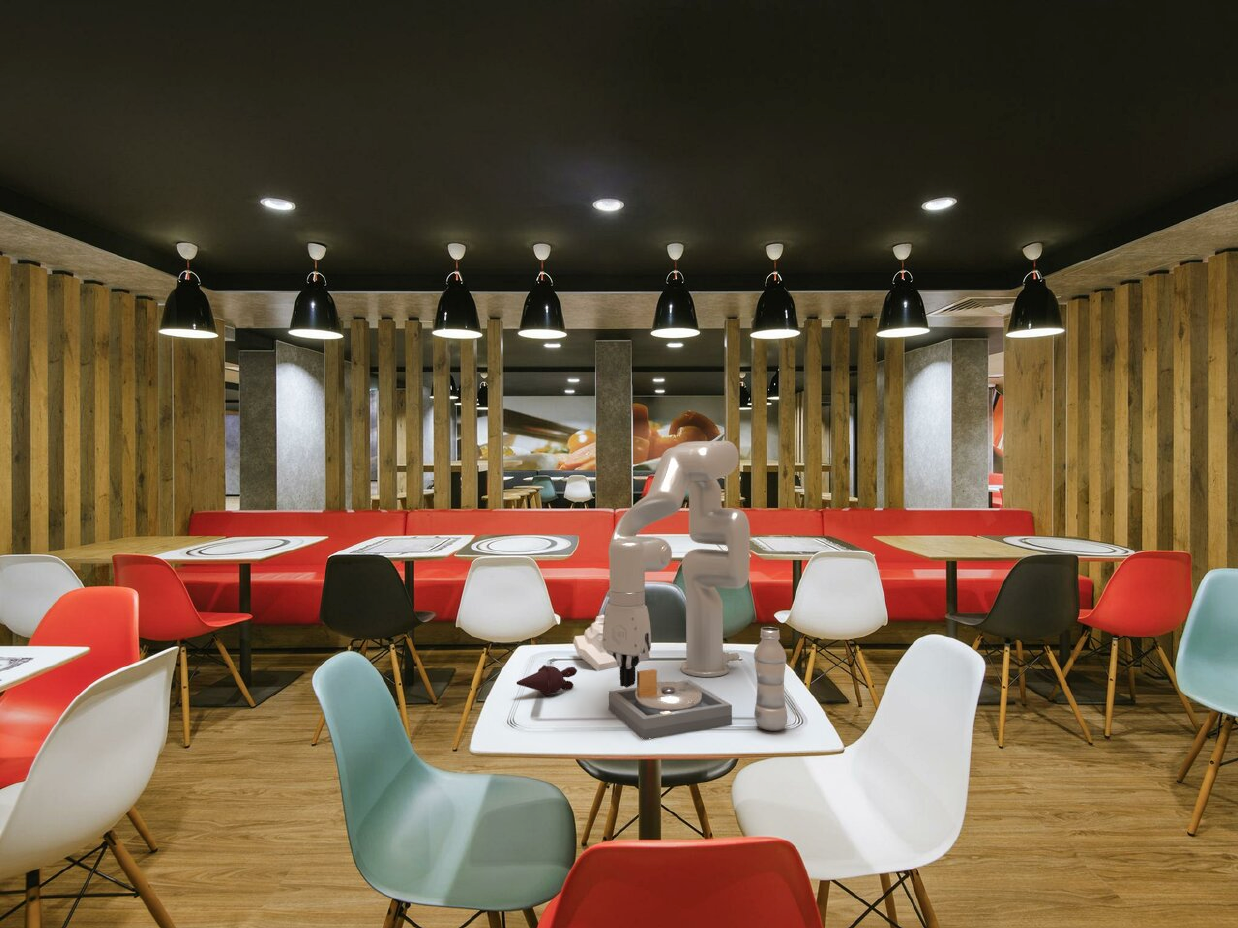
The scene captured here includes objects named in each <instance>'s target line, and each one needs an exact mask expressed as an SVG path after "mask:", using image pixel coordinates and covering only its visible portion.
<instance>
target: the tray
mask: <svg viewBox="0 0 1238 928" xmlns="http://www.w3.org/2000/svg"><path fill="white" fill-rule="evenodd" d="M678 682H680V683H686V684H690V685H693V686H695V687H697V688H699V689H700V690H701V692H702V707H698V708H692V709H686V710H680V711H673V712H670V711H664V712H660V714H655V715H646V714H644V713H643V712H642V711H640V710H639V709H638V708H636V707H635V691H636V689H637V687H631V688H630V687H629V688H625V689H618V690H610V691H608V711H610V713H612V714H613V715H614V717H616V718H618V719H619V720H620V721H621V722H622V723H623V724H624V725H626V726H627V727H628V728H629V729H630V730H632V731H633V733H635V734H636V735H637V736H639V737H640V738H641V737H642V738H643V739H646V740H650V739H649V738H652V739H656V738H657V737H658V738H662V737H668V736H673V735H675V736H676V735H680V734H685V733H691V732H697V731H702V730H708V729H713V728H719V727H725V726H731V725H733V705H732V704H731V703H730V702H727V701H726V700H724V699H722V698H721V697H719V696H717V694H716V695H715V694H714V693H712V692H710V691H709V690H707V689H705V688H704V687H702V686H700V685H698V684H697V683H695V682H694V681H692V680H689V679H687V680H681V681H678ZM642 738H641V739H642ZM658 738H657V739H658ZM643 739H642V740H643Z"/></svg>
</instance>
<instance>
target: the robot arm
mask: <svg viewBox="0 0 1238 928" xmlns="http://www.w3.org/2000/svg"><path fill="white" fill-rule="evenodd" d="M739 456H740V455H739V450H738V448H737V446H736V445H735V444H734V443H733V442H732V441H729V440H708V441H707V440H706V441H705V440H704V441H698V440H697V441H696V440H695V441H686V442H681V443H678V444H677V445H676V446H673V447H670V448H668V449H666V450H665V451H664V452H663V454H662V455H661V457H660V461H659V462H658V465H657V468H656V470H655V474H654V476H653V479H652V482H651V484H650V486H649V489H648V491H647V493H646V495H645V496H644V497H642V498H640V499H639V500H638V501H637V502H635V504H633V506H631V507H630V508H628V509H627V510H626V511H625V513H624V514H623V515H621V517H620V518H619V520H618V522H617V524H616V526H615V528H614V531H613V533H612V536H611V539H610V542H609V546H608V558H609V590H607V591H606V593H605V594H606V597H607V598H609V603H607V604H606V607H605V611H604V614H603V615H604V622H603V637H602V644H603V648H604V649H605V650H606V653H607V654H609V655H611V656H613V657H614V658H615V660H616V661H617V665H618V668H619V686H620V687H624V688H630V687H632V686H634V685H636V684H635V683H636V667H637V666H638V665H639V663H642V662H647V661H649V660H650V659H651V657H650V651H651V648H652V633H651V632H652V631H651V621H650V614H649V608H648V606H647V605H646V580H645V577H646V576H645V575H646V574H645V573H646V572H648V573H649V572H651V573H652V572H653V573H654V572H655V573H656V572H661V571H663V570H664V569H666V568H667V567H668V566H669V565H670V563H671V561H672V556H673V552H672V547H671V545H670V543H668V542H667V540H665V539H663V538H660V537H654V536H638V533H639V532H640V531H642V530H643V529H644V528H645V527H647V526H649V525H651V524H653V523H655V522H658V521H660V520H663V519H666V518H668V517H671V516H672V515H674V514H676V513H678V512H679V511H680V510H681V508H682V506H683V502H684V499H685V496H686V494H687V491H688V504H689V505H688V532H689V533H688V535H689V538H690V539H691V541H692V542H694V543H697V544H704V545H717V546H726V547H727V550H721V549H720V550H719V549H709V548H708V549H707V548H697V549H692V550H690V551H688V552H686V553H685V554H684V556H683V558H682V562H681V571H682V577H683V582H684V588H685V610H686V611H685V612H686V613H685V621H686V622H685V623H686V626H685V629H686V630H685V632H686V634H685V637H686V643H685V644H686V646H685V647H686V653H685V654H686V659H685V661H683V662H682V663H681V664H680V671H681V672H682V673H684V674H686V675H689V676H694V677H699V678H700V677H701V678H711V677H712V678H713V677H714V678H715V677H720V676H724V675H726V674H728V673H729V672H730V667H729V666H730V665H728V663H729V662H735V661H736V662H737V661H739V660H740V655H739V653H738V652H734V653H730V652H725V651H724V638H723V637H724V634H723V633H724V629H723V628H724V625H723V622H724V621H723V620H724V618H723V617H724V616H723V615H724V614H723V612H724V611H723V609H724V608H723V601H722V597H721V596H720V594H719V592H718V591H717V589H716V588H723V589H734V590H735V589H737V590H738V589H742V588H744V587H745V586H746V585H747V583H748V581H749V576H750V564H751V563H750V561H751V560H750V554H751V553H750V552H751V551H750V549H751V548H750V547H751V541H750V540H751V527H750V521H749V519H748V516H747V514H746V513H745V511H743V510H742V509H737V508H723V506H722V487H721V485H720V483H719V482H718V479H719V480H720V479H722V478H724V477H726V476H729V475H731V474H732V473H734V472H735V470H736V468H737V467H738V465H739V461H740V460H739V459H740V457H739Z"/></svg>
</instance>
